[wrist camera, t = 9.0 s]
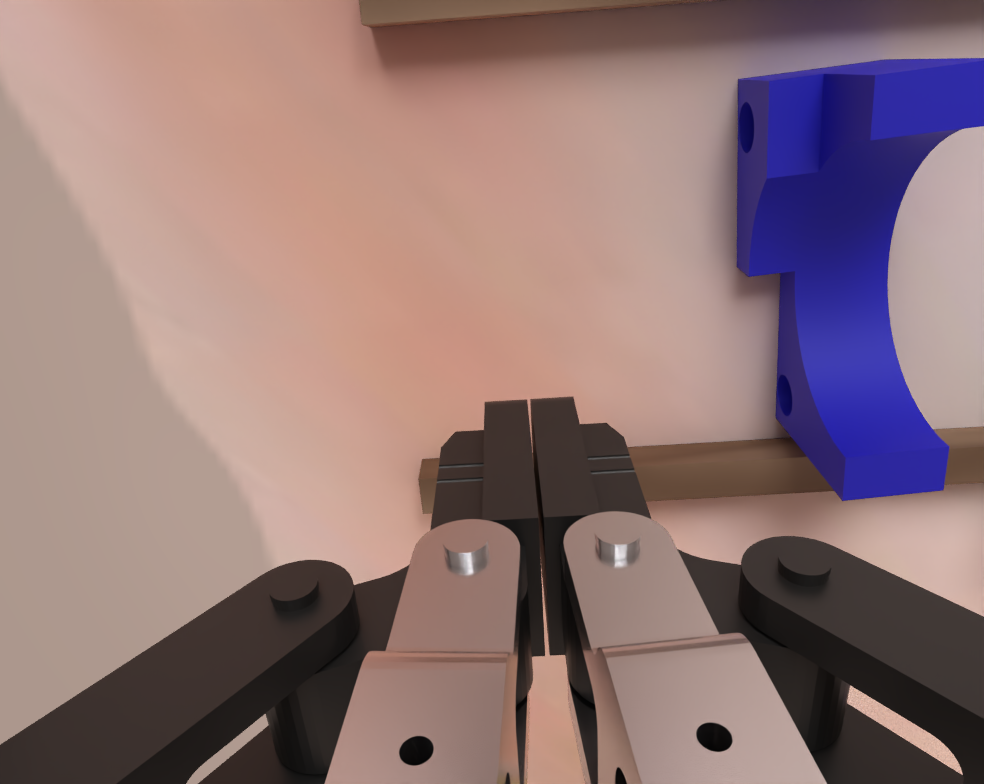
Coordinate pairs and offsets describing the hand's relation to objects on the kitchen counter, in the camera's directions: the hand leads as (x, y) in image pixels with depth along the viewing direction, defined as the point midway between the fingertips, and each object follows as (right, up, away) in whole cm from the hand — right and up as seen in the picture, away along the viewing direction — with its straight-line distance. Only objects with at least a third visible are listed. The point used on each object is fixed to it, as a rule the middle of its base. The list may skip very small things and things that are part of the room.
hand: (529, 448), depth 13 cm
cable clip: (+10, +6, +13) cm, 17 cm away
